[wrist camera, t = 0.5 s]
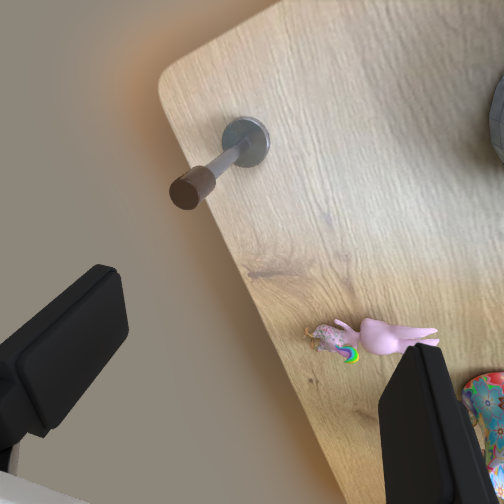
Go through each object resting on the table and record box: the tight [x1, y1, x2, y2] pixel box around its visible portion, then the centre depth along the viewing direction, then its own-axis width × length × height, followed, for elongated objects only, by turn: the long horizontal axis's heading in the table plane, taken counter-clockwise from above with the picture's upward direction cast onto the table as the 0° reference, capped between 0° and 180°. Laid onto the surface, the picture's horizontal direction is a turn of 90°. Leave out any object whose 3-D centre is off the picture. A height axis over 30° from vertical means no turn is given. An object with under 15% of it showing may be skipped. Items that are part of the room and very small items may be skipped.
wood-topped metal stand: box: [169, 117, 270, 210], centre depth 26 cm, size 5×5×15 cm
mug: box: [462, 372, 504, 499], centre depth 36 cm, size 12×9×11 cm
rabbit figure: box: [304, 318, 439, 364], centre depth 38 cm, size 6×6×15 cm
